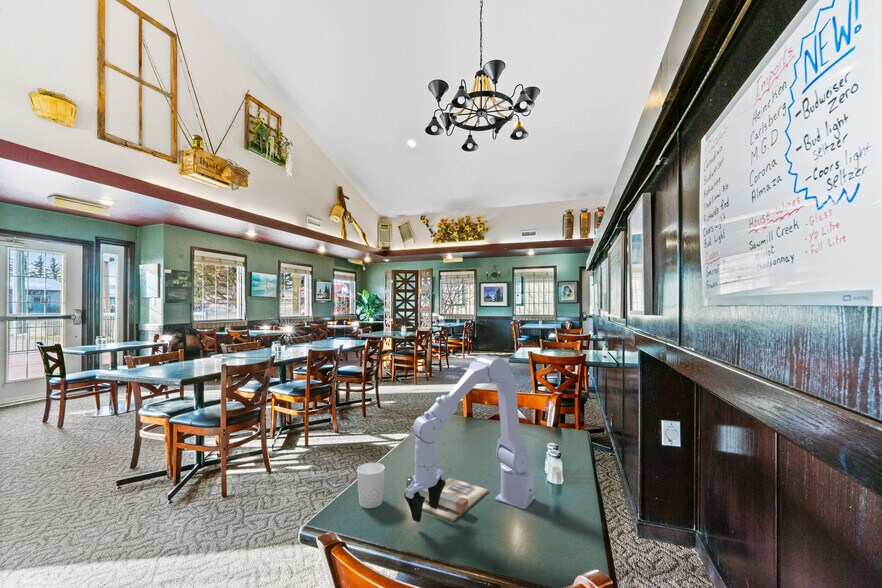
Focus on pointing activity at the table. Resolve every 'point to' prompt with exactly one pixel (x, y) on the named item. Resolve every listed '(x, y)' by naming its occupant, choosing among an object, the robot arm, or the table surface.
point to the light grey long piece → (445, 499)
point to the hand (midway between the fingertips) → (425, 513)
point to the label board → (459, 490)
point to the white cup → (370, 484)
